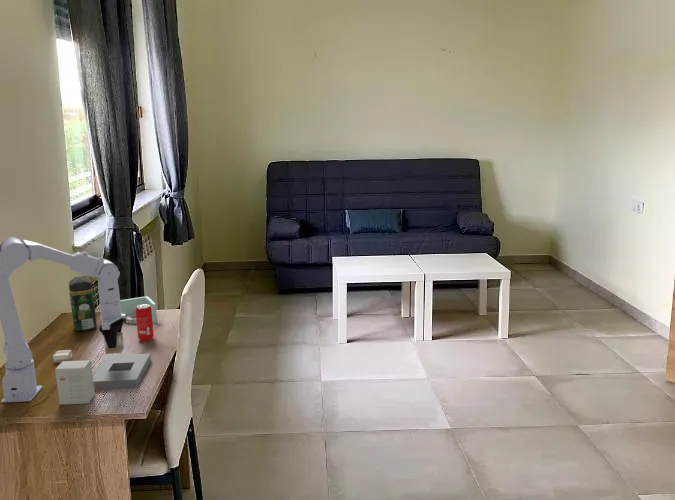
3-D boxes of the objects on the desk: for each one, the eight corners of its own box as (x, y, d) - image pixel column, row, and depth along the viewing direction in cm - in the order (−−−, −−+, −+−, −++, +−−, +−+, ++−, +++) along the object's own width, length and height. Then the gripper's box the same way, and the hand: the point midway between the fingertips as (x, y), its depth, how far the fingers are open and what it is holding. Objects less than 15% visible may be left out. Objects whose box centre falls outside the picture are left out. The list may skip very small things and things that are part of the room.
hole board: (137, 387, 190) (136, 379, 189) (90, 389, 189) (89, 381, 189) (150, 360, 209) (150, 353, 209) (108, 362, 209) (108, 355, 208)
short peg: (68, 362, 211) (67, 354, 210) (54, 363, 210) (53, 355, 209) (72, 357, 215) (71, 349, 214) (58, 358, 214) (57, 350, 214)
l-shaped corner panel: (117, 320, 250) (115, 301, 249) (149, 314, 256) (147, 296, 254) (124, 329, 240) (122, 309, 238) (157, 323, 246) (155, 304, 244)
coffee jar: (73, 325, 245) (67, 276, 241) (95, 321, 248) (90, 273, 244) (74, 333, 237) (68, 282, 232) (97, 329, 240) (92, 279, 235)
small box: (95, 395, 186) (91, 359, 183) (88, 404, 180) (84, 367, 178) (66, 396, 186) (62, 360, 183) (59, 405, 180) (54, 368, 178)
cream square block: (120, 353, 197) (119, 337, 196) (105, 353, 197) (103, 337, 196) (124, 347, 202) (122, 332, 200) (109, 348, 201) (107, 332, 200)
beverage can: (135, 340, 228) (131, 307, 225) (145, 336, 232) (142, 303, 229) (146, 343, 225) (143, 309, 222) (157, 338, 230) (154, 305, 227)
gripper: (117, 307, 189) (122, 353, 192) (129, 293, 203) (133, 335, 206) (92, 309, 189) (97, 354, 192) (105, 294, 203) (109, 336, 206)
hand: (114, 344), depth 199 cm, fingers closed on cream square block, 4 cm apart
